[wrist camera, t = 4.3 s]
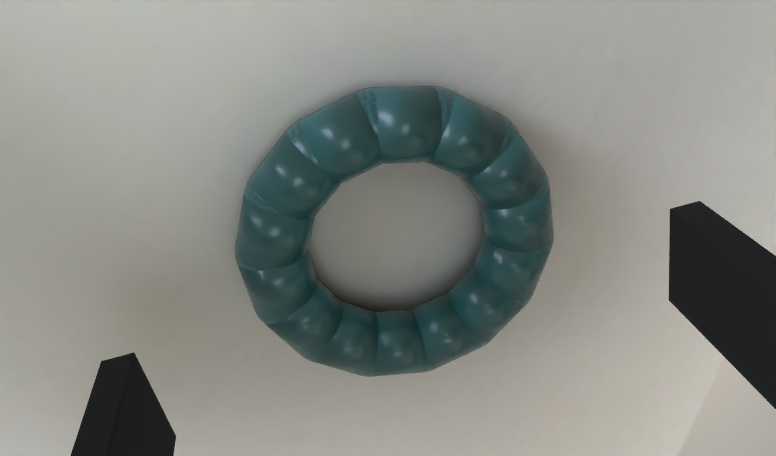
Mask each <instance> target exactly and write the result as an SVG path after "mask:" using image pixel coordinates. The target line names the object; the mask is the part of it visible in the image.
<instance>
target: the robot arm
mask: <svg viewBox="0 0 776 456" xmlns="http://www.w3.org/2000/svg"><path fill="white" fill-rule="evenodd" d="M669 301H670V302H671V303H672V304H673V305H674V306H675V307H676V308H677V309H678V310H679V311H680V312H681V313H682V314H683V315H684V316H685V317H686V318H687V319H688V320H689V321H690V322H691V323H692V324H693V325H694V326H695V327H696V328H697V329H698V330H699V331H700V332H701V333H702V334H703V335H704V336H705V338H706V339H707V340H708V341H709V342H710V343H711V344H712V345H713V346H714V347H715V348H716V349H717V350H718V351H719V352H720V353H721V354H722V355H723V356H724V357H725V358H726V359H727V360H728V361H729V362H730V363H731V364H732V365H733V366H734V367H735V368H736V369H737V370H738V371H739V372H740V373H741V374H742V375H743V376H744V377H745V378H746V379H747V380H748V381H749V382H750V383H751V384H752V386H754V388H755V389H756V390H757V391H758V392H759V393H760V394H761V395H762V396H763V397H764V398H765V399H767V401H768V402H769V403H770V404H771V405H772V406H773V407H774V408H775V409H776V256H775V255H773V254H772V253H771V252H769V251H768V250H766V249H765V248H764V247H762V246H761V245H760V244H758V243H757V242H755V241H754V240H753V239H751V238H750V237H749V236H747V235H746V234H744V233H743V232H742V231H740V230H739V229H738V228H736V227H735V226H733V225H732V224H731V223H729V222H728V221H727V220H725V219H724V218H722V217H721V216H720V215H718V214H717V213H716V212H714V211H713V210H711V209H710V208H709V207H707V206H706V205H705V204H703V203H702V202H700V201H698V202H694V203H690V204H687V205H683V206H679V207H675V208H672V209H670V251H669ZM175 440H176V435H175V433H174V431H173V429H172V427H171V425H170V423H169V421H168V419H167V417H166V415H165V413H164V411H163V409H162V407H161V405H160V403H159V401H158V399H157V397H156V395H155V393H154V391H153V389H152V387H151V385H150V383H149V381H148V379H147V377H146V375H145V373H144V371H143V369H142V367H141V365H140V363H139V361H138V359H137V357H136V355H135V353H130V354H127V355H123V356H119V357H116V358H112V359H108V360H104V361H101V364H100V367H99V370H98V373H97V376H96V379H95V382H94V385H93V388H92V391H91V395H90V398H89V401H88V404H87V407H86V410H85V413H84V416H83V419H82V422H81V425H80V428H79V432H78V435H77V438H76V441H75V444H74V447H73V450H72V453H71V456H173V453H174V447H175Z"/></svg>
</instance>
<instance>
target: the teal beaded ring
mask: <svg viewBox="0 0 776 456" xmlns="http://www.w3.org/2000/svg"><path fill="white" fill-rule="evenodd" d="M413 162H427V163H430V164H432V165H434V166H437V167H439V168H441V169H444V170H446V171H448V172H451V173H453V174H455V175H457V176H460V177H461V178H462V179H463V180H464V182H465V183H466V184H467V185H468V187H469V188H470V189H471V191H472V192H473V193H474V194H475V196H476V197H477V198H478V199H479V201H480V202H481V208H482V215H483V221H484V228H485V235H484V238H483V240H482V243H481V246H480V249H479V252H478V255H477V258H476V261H475V263H474V265H473V267H472V268H471V269H470V270H469V271H468V272H467V273H466V274H465V275H464V276H463V277H462V278H461V279H460V280H459V281H458V282H457V284H456V285H455V286H454V287H453V288H452V289H451V290H450V291H449V292H448V293H446V294H444V295H441V296H439V297H437V298H435V299H433V300H431V301H429V302H427V303H424V304H422V305H420V306H418V307H416V308H414V309H409V310H395V311H381V312H372V311H369V310H366V309H363V308H360V307H357V306H354V305H351V304H348V303H345V302H342V301H339V300H338V299H337V298H336V297H335V296H334V295H333V294H332V293H331V292H330V291H329V290H328V289H327V288H326V287H325V286H324V285H323V284H322V283H321V282H320V281H319V280H318V279H317V278H316V275H315V272H314V269H313V265H312V262H311V259H310V255H309V252H308V245H309V241H310V236H311V232H312V227H313V223H314V218H315V215H316V214H317V212H318V211H319V210H320V209H321V208H322V206H323V205H324V204H325V203H326V201H327V200H328V199H329V198H330V197H331V195H332V194H333V193H334V192H335V191H336V189H337V188H338V187H339V186H340V185H341V184H342V183H344V182H346V181H348V180H350V179H352V178H354V177H356V176H358V175H360V174H362V173H364V172H366V171H368V170H370V169H372V168H374V167H376V166H378V165H381V164H387V163H413ZM553 239H554V233H553V221H552V210H551V199H550V187H549V181H548V176H547V174H546V172H545V170H544V168H543V167H542V166H541V164H540V163H539V161H538V160H537V158H536V157H535V156H534V154H533V153H532V151H531V150H530V148H529V147H528V145H527V144H526V143H525V141H524V140H523V138H522V137H521V135H520V134H519V133H518V131H517V130H516V128H515V127H514V125H513V124H512V123H511V122H510V121H509V120H508V119H507V118H505V117H504V116H502V115H501V114H498V113H496V112H494V111H492V110H490V109H488V108H486V107H484V106H482V105H480V104H478V103H476V102H473V101H471V100H469V99H467V98H465V97H463V96H461V95H459V94H457V93H455V92H453V91H451V90H448V89H445V88H443V87H433V86H431V87H383V88H367V89H362V90H359V91H357V92H354V93H352V94H350V95H348V96H346V97H344V98H342V99H340V100H338V101H336V102H334V103H332V104H330V105H328V106H326V107H324V108H322V109H320V110H318V111H316V112H314V113H312V114H310V115H308V116H306V117H304V118H302V119H300V120H298V121H297V122H296V123H294V124H293V125H292V126H291V127H290V128H289V129H288V130H287V131H286V132H285V134H284V135H283V136H282V138H281V139H280V140H279V141H278V143H277V144H276V145H275V147H274V148H273V149H272V150H271V152H270V153H269V154H268V156H267V157H266V158H265V159H264V161H263V162H262V163H261V165H260V166H259V167H258V168H257V170H256V171H255V172H254V174H253V175H252V176H251V178H250V179H249V181H248V183H247V185H246V188H245V192H244V197H243V203H242V209H241V215H240V221H239V227H238V233H237V238H236V244H235V257H236V261H237V264H238V267H239V269H240V272H241V275H242V278H243V280H244V283H245V286H246V288H247V291H248V294H249V296H250V299H251V302H252V305H253V307H254V310H255V312H256V314H257V315H258V317H259V318H260V320H261V321H262V322H263V323H264V324H266V325H267V326H268V327H269V328H270V329H271V330H273V331H274V332H275V333H276V334H277V335H278V336H279V337H281V338H282V339H283V340H284V341H285V342H286V343H287V344H289V345H290V346H291V347H292V348H293V349H294V350H295V351H297V352H298V353H299V354H300V355H301V356H303V357H304V358H306V359H308V360H310V361H313V362H316V363H319V364H323V365H326V366H330V367H333V368H337V369H340V370H343V371H347V372H350V373H354V374H357V375H361V376H366V377H374V376H385V375H396V374H407V373H419V372H427V371H431V370H433V369H436V368H438V367H440V366H442V365H444V364H446V363H448V362H451V361H453V360H455V359H457V358H459V357H461V356H464V355H466V354H468V353H470V352H472V351H474V350H477V349H479V348H481V347H483V346H485V345H486V344H487V343H488V342H490V341H491V340H492V339H493V338H494V337H495V336H496V335H497V334H498V333H499V332H500V331H501V330H502V329H503V328H504V327H505V326H506V325H507V324H508V323H509V322H510V321H511V320H512V319H513V317H514V316H515V315H516V314H517V313H518V312H519V311H520V310H521V309H522V308H523V307H524V306H525V305H526V304H527V303H528V302H529V300H530V299H531V297H532V295H533V293H534V290H535V288H536V285H537V283H538V280H539V278H540V275H541V273H542V270H543V268H544V265H545V263H546V260H547V258H548V255H549V253H550V250H551V248H552V244H553Z"/></svg>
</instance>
